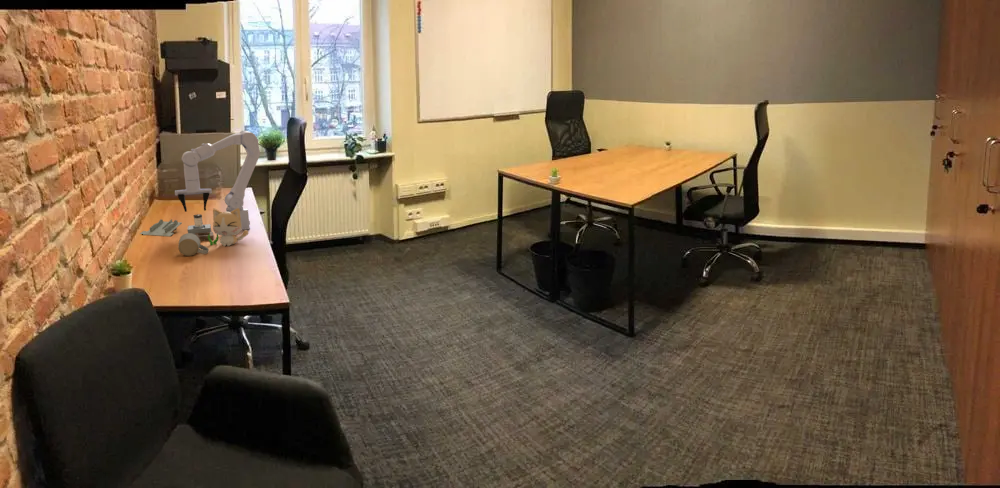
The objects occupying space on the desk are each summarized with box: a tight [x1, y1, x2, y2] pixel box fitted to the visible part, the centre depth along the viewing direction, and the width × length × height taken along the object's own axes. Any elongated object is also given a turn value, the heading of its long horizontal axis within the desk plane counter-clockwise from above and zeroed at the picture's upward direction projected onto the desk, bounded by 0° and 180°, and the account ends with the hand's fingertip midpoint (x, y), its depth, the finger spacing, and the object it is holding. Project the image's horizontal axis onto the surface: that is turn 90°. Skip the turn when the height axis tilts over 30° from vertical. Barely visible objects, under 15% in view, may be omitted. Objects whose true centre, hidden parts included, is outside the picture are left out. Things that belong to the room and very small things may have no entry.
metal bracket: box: [139, 218, 183, 237], centre depth 306 cm, size 14×6×15 cm
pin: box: [192, 213, 204, 228], centre depth 301 cm, size 3×3×9 cm
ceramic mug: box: [177, 232, 210, 257], centre depth 271 cm, size 11×8×8 cm
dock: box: [186, 223, 212, 234], centre depth 302 cm, size 9×8×4 cm
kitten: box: [207, 208, 249, 247], centre depth 284 cm, size 15×10×15 cm
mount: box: [195, 231, 214, 242], centre depth 295 cm, size 7×7×2 cm
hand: (195, 210), depth 303 cm, fingers open, 7 cm apart
